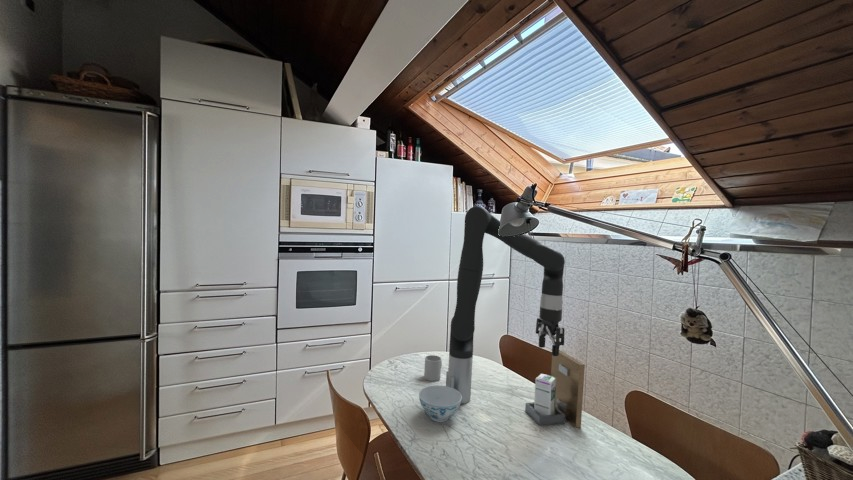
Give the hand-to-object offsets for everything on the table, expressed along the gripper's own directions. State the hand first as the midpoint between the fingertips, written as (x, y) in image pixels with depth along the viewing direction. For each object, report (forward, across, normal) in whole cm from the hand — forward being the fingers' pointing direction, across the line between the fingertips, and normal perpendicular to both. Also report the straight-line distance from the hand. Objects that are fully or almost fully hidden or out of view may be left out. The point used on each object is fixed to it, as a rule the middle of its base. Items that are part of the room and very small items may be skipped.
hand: (548, 351), depth 122 cm
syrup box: (+24, 0, 0) cm, 24 cm away
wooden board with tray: (+24, 0, +2) cm, 24 cm away
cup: (+24, -37, -32) cm, 55 cm away
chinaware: (+24, -5, -38) cm, 45 cm away
